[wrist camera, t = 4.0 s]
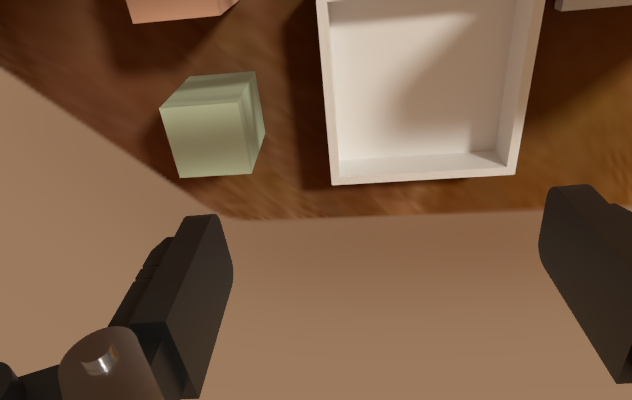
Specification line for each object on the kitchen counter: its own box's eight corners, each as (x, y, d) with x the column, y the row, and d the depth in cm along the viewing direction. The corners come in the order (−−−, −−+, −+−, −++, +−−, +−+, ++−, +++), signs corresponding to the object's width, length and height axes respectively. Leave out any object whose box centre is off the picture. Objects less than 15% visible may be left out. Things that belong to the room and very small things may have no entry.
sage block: (189, 76, 29) (158, 108, 24) (254, 71, 29) (237, 102, 24) (204, 137, 32) (179, 178, 27) (265, 132, 31) (251, 173, 26)
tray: (317, -17, 26) (315, -10, 23) (528, -37, 25) (551, -33, 22) (332, 164, 32) (331, 185, 30) (499, 153, 31) (514, 174, 29)
